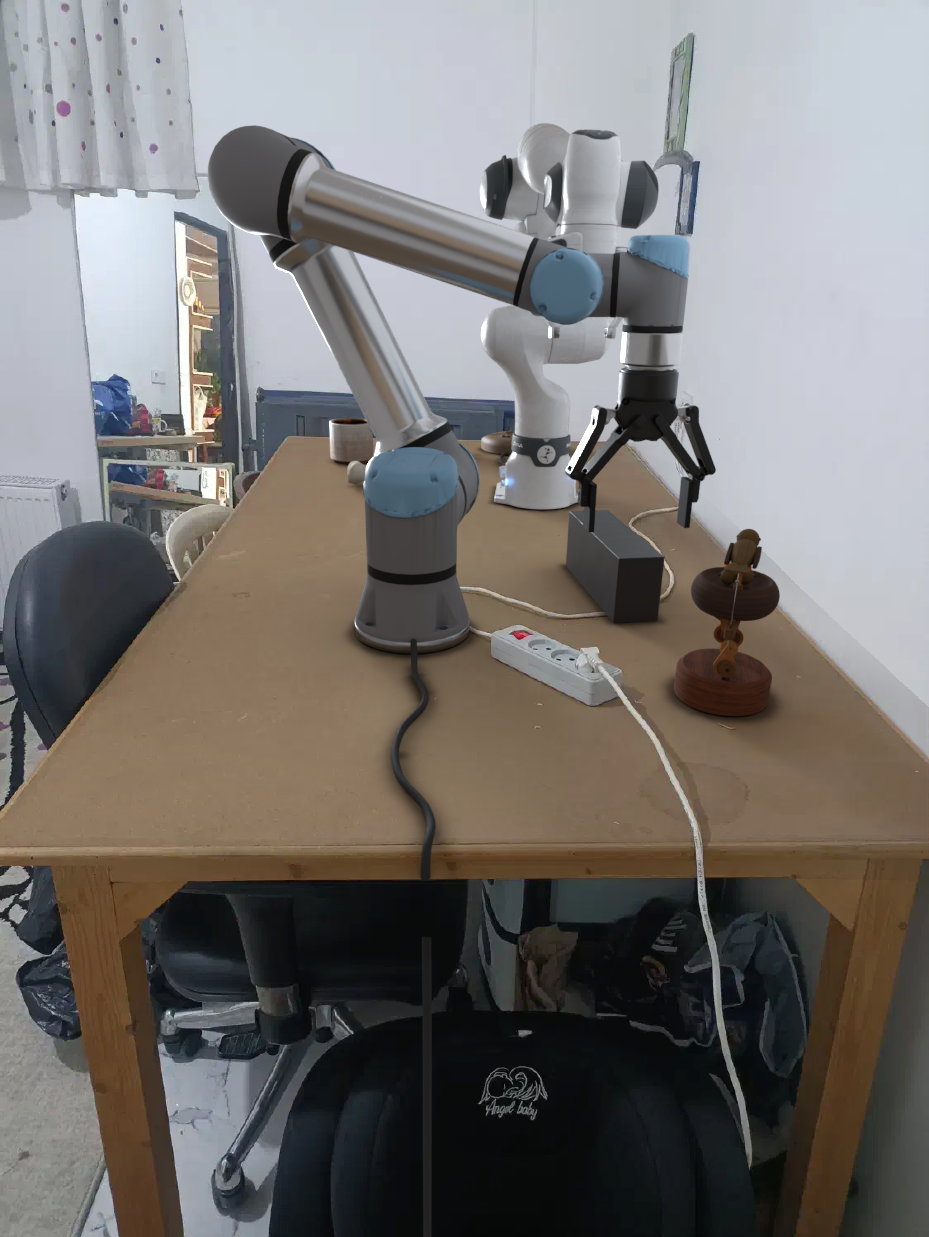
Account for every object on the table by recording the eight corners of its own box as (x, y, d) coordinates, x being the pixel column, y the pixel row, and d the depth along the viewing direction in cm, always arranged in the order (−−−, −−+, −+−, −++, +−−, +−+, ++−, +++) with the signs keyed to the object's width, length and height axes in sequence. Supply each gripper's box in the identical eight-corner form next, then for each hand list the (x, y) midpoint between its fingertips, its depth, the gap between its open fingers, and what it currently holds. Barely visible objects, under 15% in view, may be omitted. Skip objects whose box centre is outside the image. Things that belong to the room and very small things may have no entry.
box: (657, 620, 118) (664, 556, 114) (613, 623, 117) (619, 558, 113) (603, 564, 140) (607, 509, 137) (565, 566, 139) (569, 510, 136)
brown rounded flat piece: (486, 464, 211) (486, 447, 210) (479, 443, 237) (479, 428, 235) (569, 465, 212) (571, 448, 211) (554, 443, 238) (554, 428, 236)
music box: (786, 726, 90) (801, 547, 83) (681, 727, 92) (686, 551, 84) (757, 665, 104) (767, 507, 97) (666, 666, 106) (669, 511, 98)
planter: (327, 456, 217) (325, 418, 214) (369, 454, 220) (368, 417, 217) (334, 465, 208) (332, 425, 204) (377, 463, 211) (376, 424, 207)
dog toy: (434, 479, 195) (434, 457, 194) (437, 485, 190) (437, 463, 188) (346, 480, 192) (345, 459, 190) (347, 487, 187) (346, 464, 185)
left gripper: (727, 363, 113) (710, 516, 121) (547, 365, 110) (541, 523, 118) (754, 368, 107) (733, 531, 115) (562, 371, 103) (555, 539, 111)
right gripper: (643, 248, 138) (635, 337, 143) (520, 245, 134) (517, 336, 140) (657, 247, 132) (649, 340, 137) (530, 244, 129) (526, 339, 134)
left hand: (636, 527), depth 116 cm, fingers open, 13 cm apart
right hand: (581, 338), depth 138 cm, fingers open, 8 cm apart
